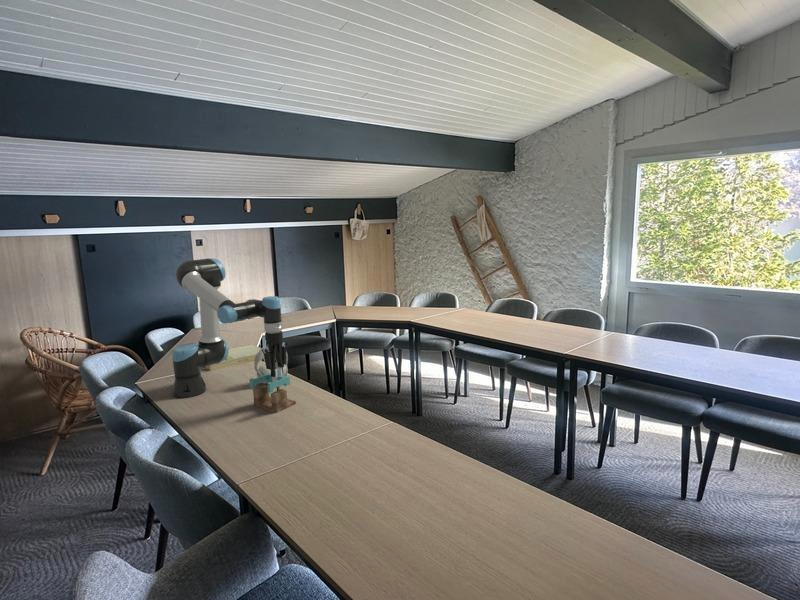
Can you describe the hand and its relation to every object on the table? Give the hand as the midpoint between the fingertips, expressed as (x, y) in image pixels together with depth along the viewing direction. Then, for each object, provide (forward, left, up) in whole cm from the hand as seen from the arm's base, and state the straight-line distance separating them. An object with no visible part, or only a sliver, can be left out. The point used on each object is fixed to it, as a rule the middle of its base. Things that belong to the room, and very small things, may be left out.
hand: (277, 381), depth 210 cm
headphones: (-24, +19, -10) cm, 32 cm away
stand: (0, -2, -10) cm, 10 cm away
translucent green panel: (-77, +35, -11) cm, 85 cm away
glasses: (0, -5, 0) cm, 5 cm away
